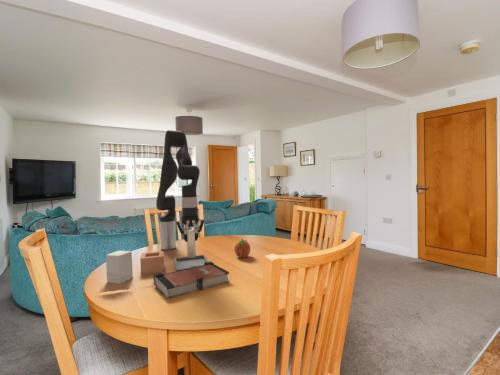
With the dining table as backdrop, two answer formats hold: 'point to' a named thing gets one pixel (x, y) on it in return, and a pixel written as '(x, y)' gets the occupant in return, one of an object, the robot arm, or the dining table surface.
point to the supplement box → (119, 266)
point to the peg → (191, 244)
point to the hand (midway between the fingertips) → (191, 240)
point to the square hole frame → (152, 262)
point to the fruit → (242, 248)
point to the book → (190, 279)
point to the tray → (189, 262)
